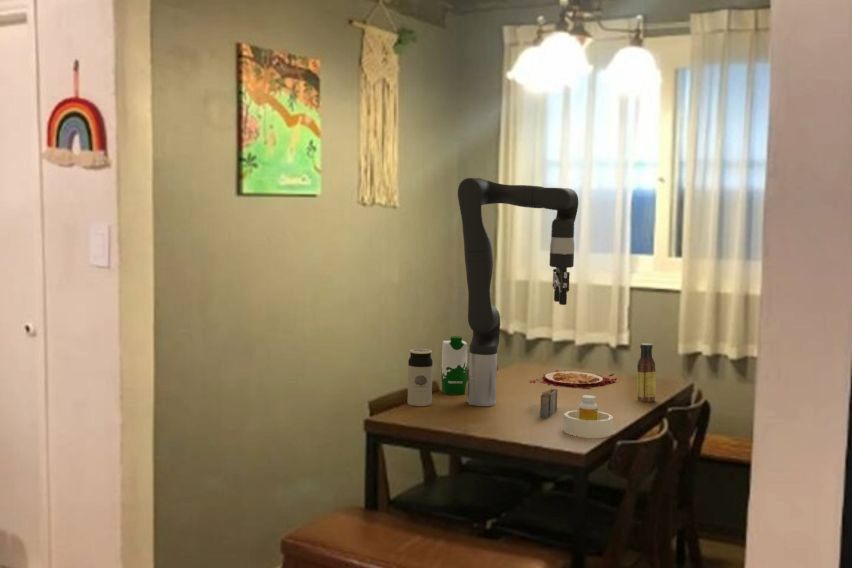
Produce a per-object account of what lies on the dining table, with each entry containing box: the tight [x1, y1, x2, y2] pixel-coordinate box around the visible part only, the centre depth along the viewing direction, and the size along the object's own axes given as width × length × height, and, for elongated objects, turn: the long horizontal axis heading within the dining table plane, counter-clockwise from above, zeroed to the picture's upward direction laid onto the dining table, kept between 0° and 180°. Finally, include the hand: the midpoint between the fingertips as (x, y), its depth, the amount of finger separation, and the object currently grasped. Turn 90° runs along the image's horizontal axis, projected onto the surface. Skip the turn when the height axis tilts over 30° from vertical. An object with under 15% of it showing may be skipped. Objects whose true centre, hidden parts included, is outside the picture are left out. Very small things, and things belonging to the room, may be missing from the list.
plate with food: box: [530, 369, 618, 390], centre depth 354 cm, size 24×26×4 cm
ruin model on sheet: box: [539, 387, 558, 419], centre depth 298 cm, size 11×3×10 cm, turn 158°
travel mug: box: [407, 348, 433, 407], centre depth 308 cm, size 8×8×18 cm
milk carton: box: [440, 336, 468, 395], centre depth 329 cm, size 9×9×20 cm
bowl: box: [562, 409, 614, 439], centre depth 277 cm, size 14×14×5 cm
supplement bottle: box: [578, 394, 599, 420], centre depth 276 cm, size 5×5×10 cm
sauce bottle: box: [636, 342, 657, 403], centre depth 322 cm, size 6×6×20 cm
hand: (560, 303), depth 294 cm, fingers open, 8 cm apart
